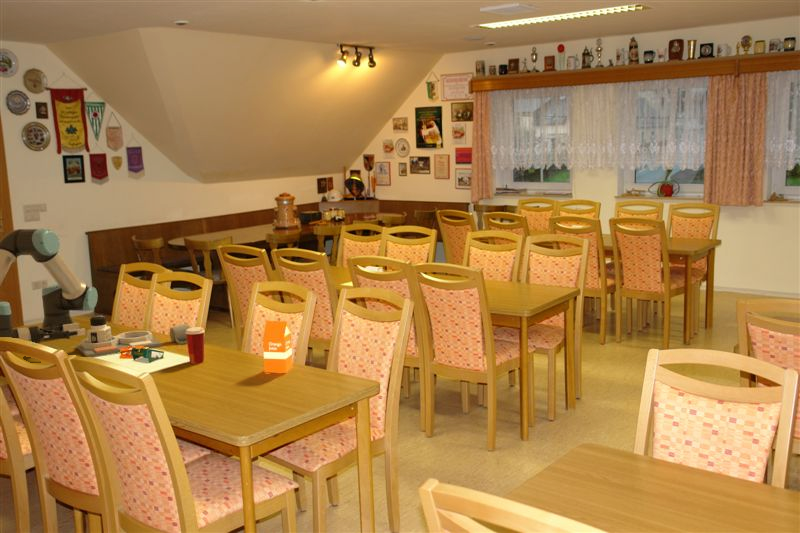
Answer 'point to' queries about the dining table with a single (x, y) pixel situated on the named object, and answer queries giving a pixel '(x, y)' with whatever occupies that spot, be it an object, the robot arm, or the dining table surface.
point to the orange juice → (277, 347)
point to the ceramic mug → (179, 334)
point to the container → (99, 330)
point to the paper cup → (195, 344)
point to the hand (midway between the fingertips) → (81, 328)
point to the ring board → (93, 354)
